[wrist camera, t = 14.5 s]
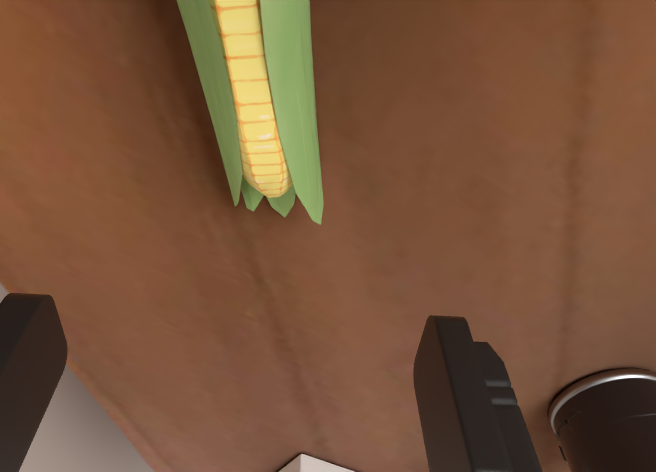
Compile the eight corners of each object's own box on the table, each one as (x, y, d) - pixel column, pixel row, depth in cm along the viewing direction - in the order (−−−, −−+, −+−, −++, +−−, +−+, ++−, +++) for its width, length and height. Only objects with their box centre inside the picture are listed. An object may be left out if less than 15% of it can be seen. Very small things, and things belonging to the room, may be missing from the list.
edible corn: (293, -283, 16) (289, -286, 13) (331, 209, 30) (333, 268, 27) (127, -268, 17) (82, -268, 13) (240, 215, 30) (232, 274, 27)
